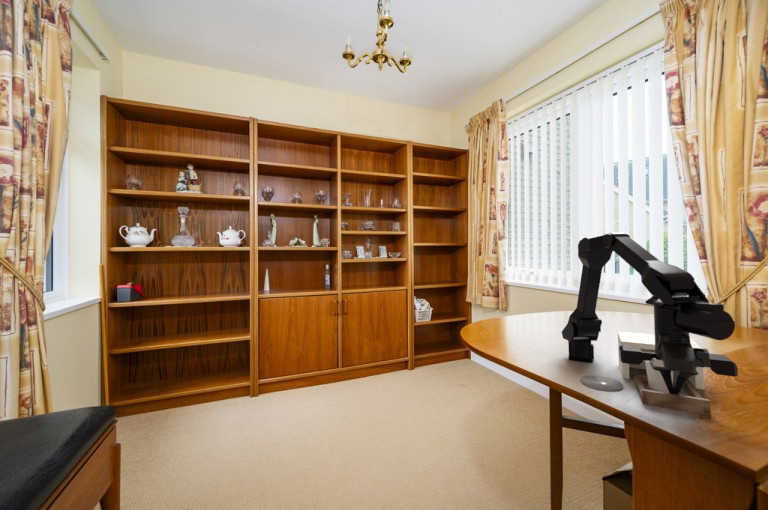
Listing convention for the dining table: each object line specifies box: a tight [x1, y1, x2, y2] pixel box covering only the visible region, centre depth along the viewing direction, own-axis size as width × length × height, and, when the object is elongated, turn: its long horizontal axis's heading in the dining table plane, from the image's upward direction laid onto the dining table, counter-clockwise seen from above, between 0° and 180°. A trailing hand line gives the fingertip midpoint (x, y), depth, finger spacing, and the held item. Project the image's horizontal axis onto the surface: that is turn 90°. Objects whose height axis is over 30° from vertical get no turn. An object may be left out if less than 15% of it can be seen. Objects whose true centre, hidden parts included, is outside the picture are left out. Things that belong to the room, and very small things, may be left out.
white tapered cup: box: [645, 360, 673, 393], centre depth 79 cm, size 7×7×7 cm
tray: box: [633, 373, 712, 416], centre depth 76 cm, size 11×16×3 cm
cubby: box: [617, 331, 705, 391], centre depth 87 cm, size 16×12×10 cm
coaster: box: [580, 374, 624, 392], centre depth 83 cm, size 9×9×1 cm
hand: (673, 397), depth 70 cm, fingers closed, pressing on tray
